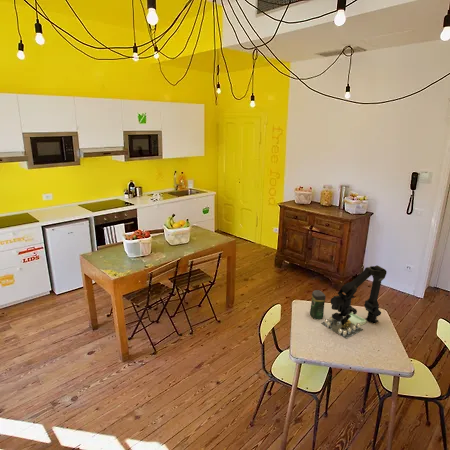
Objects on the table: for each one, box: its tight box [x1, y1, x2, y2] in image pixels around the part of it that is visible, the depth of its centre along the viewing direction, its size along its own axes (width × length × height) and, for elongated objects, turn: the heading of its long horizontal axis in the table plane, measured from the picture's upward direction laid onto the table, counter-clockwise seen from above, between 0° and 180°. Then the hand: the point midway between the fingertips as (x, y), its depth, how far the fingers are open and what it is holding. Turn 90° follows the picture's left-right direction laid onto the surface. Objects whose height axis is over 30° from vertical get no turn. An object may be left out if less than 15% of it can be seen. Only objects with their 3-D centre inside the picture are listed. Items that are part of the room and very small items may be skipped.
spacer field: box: [320, 316, 364, 340], centre depth 221 cm, size 18×20×4 cm
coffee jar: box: [309, 289, 327, 320], centre depth 231 cm, size 10×8×19 cm
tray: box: [348, 312, 368, 327], centre depth 229 cm, size 9×12×2 cm
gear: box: [344, 320, 351, 327], centre depth 224 cm, size 6×6×2 cm
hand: (342, 324), depth 222 cm, fingers closed
